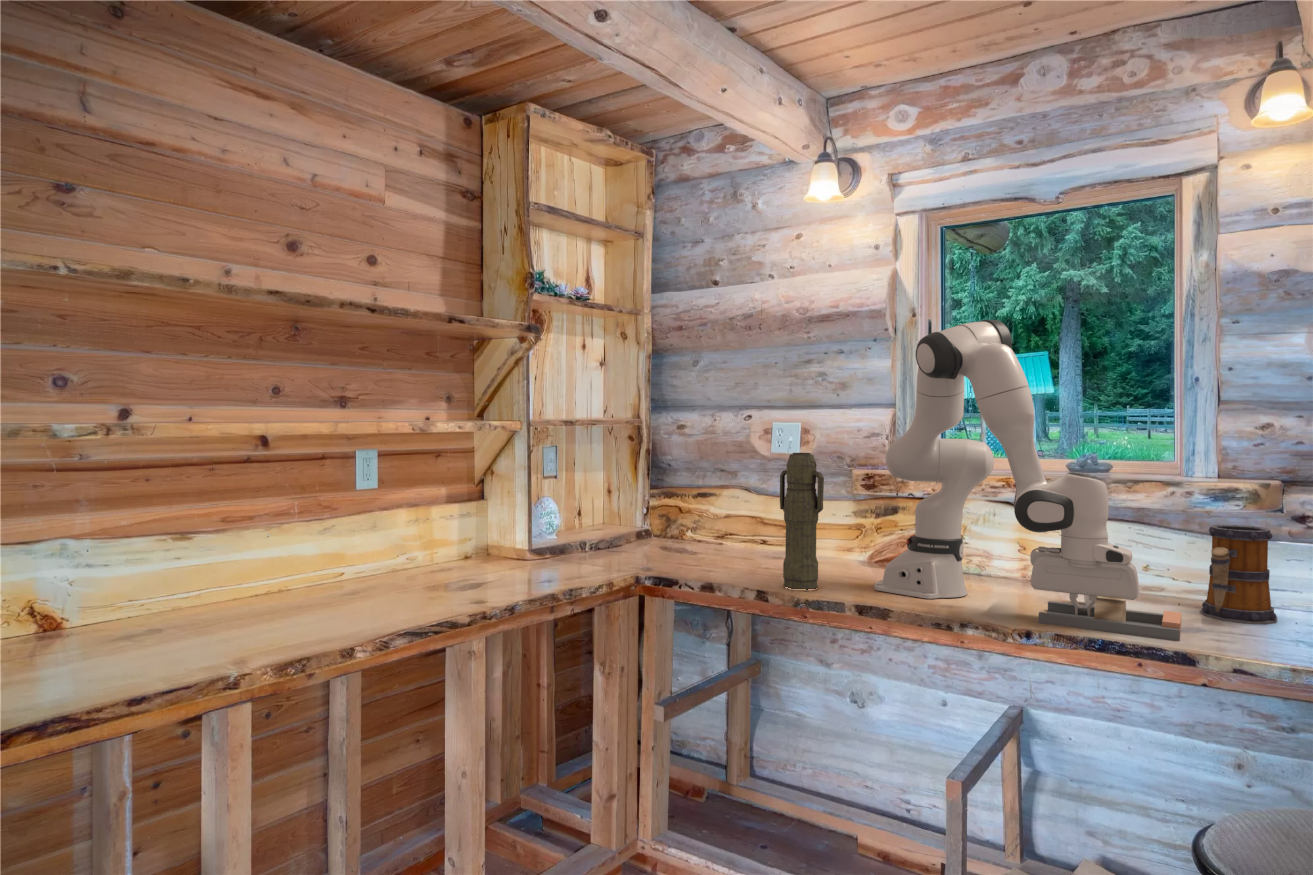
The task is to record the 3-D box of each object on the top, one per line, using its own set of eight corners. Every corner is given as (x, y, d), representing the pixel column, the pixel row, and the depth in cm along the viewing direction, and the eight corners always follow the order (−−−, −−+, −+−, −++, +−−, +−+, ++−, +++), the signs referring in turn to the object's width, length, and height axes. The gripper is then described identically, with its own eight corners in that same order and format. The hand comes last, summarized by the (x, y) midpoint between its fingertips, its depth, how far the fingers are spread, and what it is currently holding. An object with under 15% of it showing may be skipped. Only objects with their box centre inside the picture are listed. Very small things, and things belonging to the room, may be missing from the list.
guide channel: (1038, 629, 174) (1038, 608, 174) (1048, 616, 186) (1049, 596, 186) (1179, 648, 160) (1180, 625, 160) (1181, 632, 172) (1181, 611, 172)
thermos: (817, 593, 209) (818, 454, 208) (773, 588, 215) (774, 453, 214) (828, 587, 217) (829, 453, 216) (785, 582, 223) (786, 451, 222)
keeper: (1093, 626, 170) (1094, 602, 170) (1098, 618, 178) (1099, 594, 178) (1121, 630, 168) (1122, 606, 167) (1125, 621, 175) (1126, 597, 175)
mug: (1254, 631, 174) (1256, 535, 173) (1178, 617, 185) (1180, 528, 185) (1288, 618, 185) (1290, 528, 184) (1215, 606, 197) (1216, 521, 196)
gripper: (1028, 547, 178) (1027, 611, 178) (1138, 556, 167) (1137, 625, 167) (1033, 543, 183) (1032, 606, 184) (1140, 552, 172) (1139, 618, 172)
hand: (1083, 615), depth 175 cm, fingers closed
